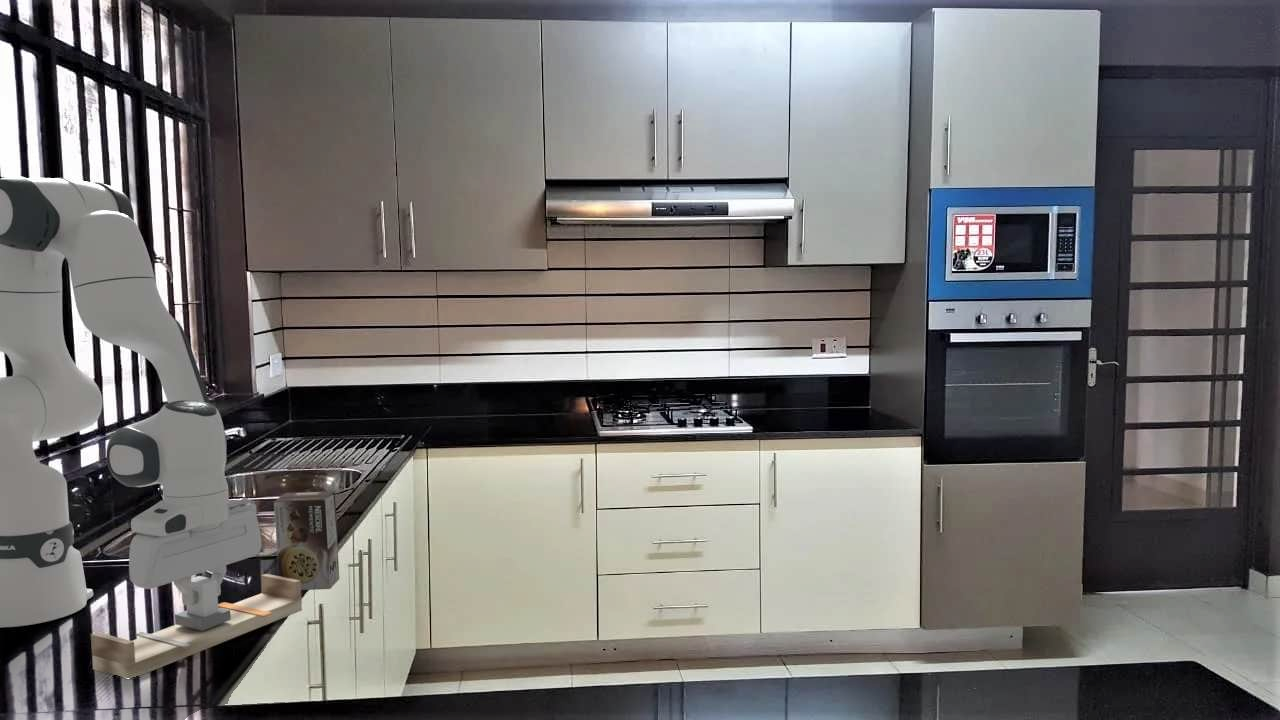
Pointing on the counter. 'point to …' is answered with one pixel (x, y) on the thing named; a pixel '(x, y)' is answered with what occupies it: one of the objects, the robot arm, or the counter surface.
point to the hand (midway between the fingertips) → (201, 600)
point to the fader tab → (203, 606)
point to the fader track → (195, 632)
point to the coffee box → (307, 538)
